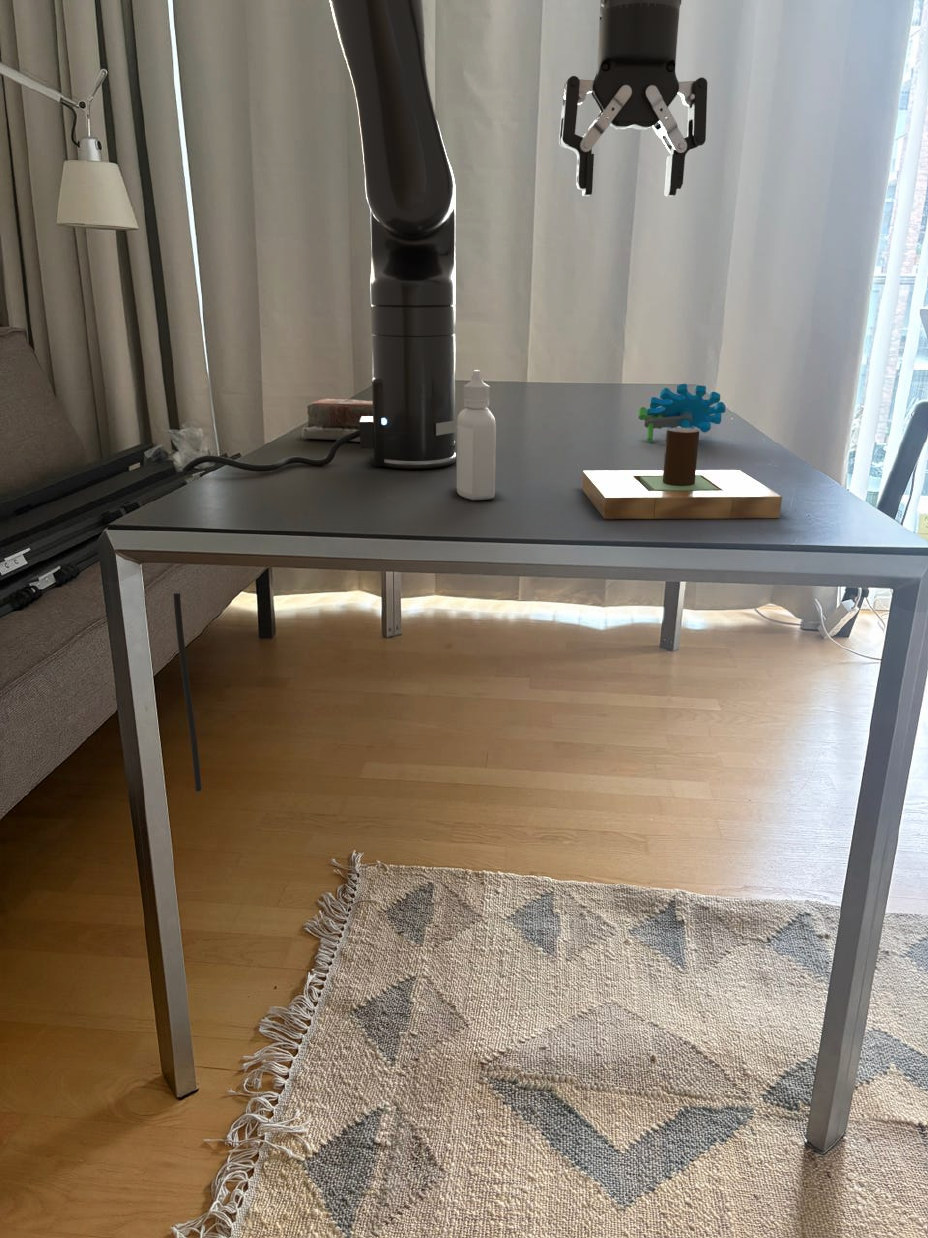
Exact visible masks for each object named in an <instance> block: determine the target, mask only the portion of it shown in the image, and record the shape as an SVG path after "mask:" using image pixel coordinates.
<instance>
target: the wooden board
mask: <svg viewBox="0 0 928 1238" xmlns="http://www.w3.org/2000/svg"><path fill="white" fill-rule="evenodd" d="M663 470H664V469H663ZM663 470H661V469H659V470H582V487H581V488H582V489H581V490H582V491H583V493H584V494H585V495H586V496H587V498H588V500H589V501H590V502H591V504H592V505H593V506H594V508H595V509H596V510H597V512H599V514H600V515H601V516H602V518H603V519H604V520H691V519H693V520H699V519H704V520H705V519H780V516H781V508H782V500H783V496H782V495H780V494H778V493H777V492H775V491H774V490H772V489H771V488H769V487H767V486H766V485H764V484H762V482H759V481H757V480H756V479H754V478H753V477H751V476H749V475H748V474H746V473H745V472H743V471H742V470H740V469H696V474H695V476H701V477H702V478H703V479H705V480H706V481H708V482H709V483H710V484H712V485H713V486H715V487H716V488H717V489H719V491H648V490H647V489H646V488H645V487H644V486H643V485H642V484H640V477H649V476H663Z"/></svg>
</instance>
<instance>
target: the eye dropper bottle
mask: <svg viewBox="0 0 928 1238" xmlns="http://www.w3.org/2000/svg"><path fill="white" fill-rule="evenodd" d="M463 407H464V408H463V409H462V410H461V411H460V412H459V413H458V414H457V418H456V492H457V494H458V495H459V496H460V497H461V498H464V499H466V500H470V501H490V500H493V499H494V498H495V495H496V453H497V451H496V450H497V449H496V448H497V447H496V445H497V444H496V443H497V435H496V434H497V422H496V418H495V416H494V414H493V412H492V411H491V410H490V409H489V408H488V407H490V385H489V384H487V383H485V382H484V381H483V377H482V372H481V370H480V369H474V370H473V369H472V375H471V379H470V381H469V382H468V383H466V384H464V385H463Z"/></svg>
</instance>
